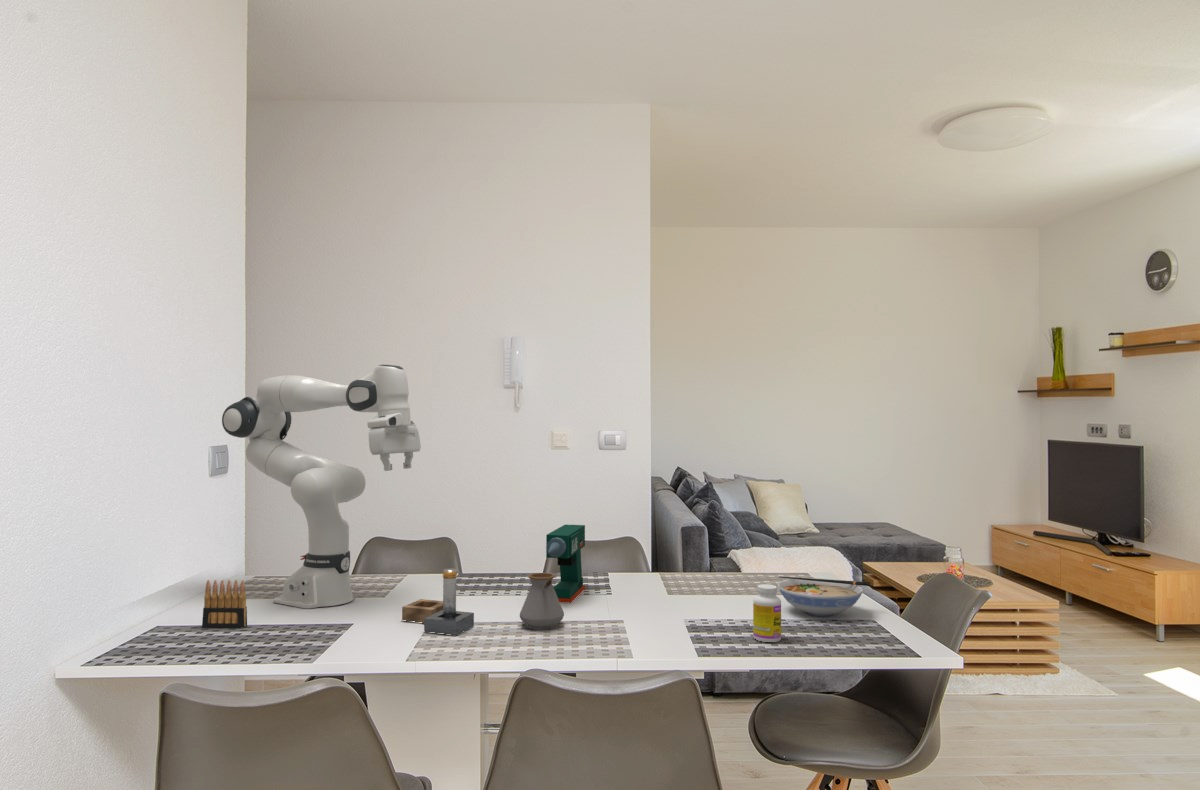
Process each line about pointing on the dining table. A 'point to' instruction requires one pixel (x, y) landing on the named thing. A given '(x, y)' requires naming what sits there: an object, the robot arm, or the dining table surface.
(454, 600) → the grey capped tube
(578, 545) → the power tool
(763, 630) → the supplement bottle
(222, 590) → the ammunition clip
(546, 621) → the coffee pot
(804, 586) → the ramen bowl
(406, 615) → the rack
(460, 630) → the socket block
